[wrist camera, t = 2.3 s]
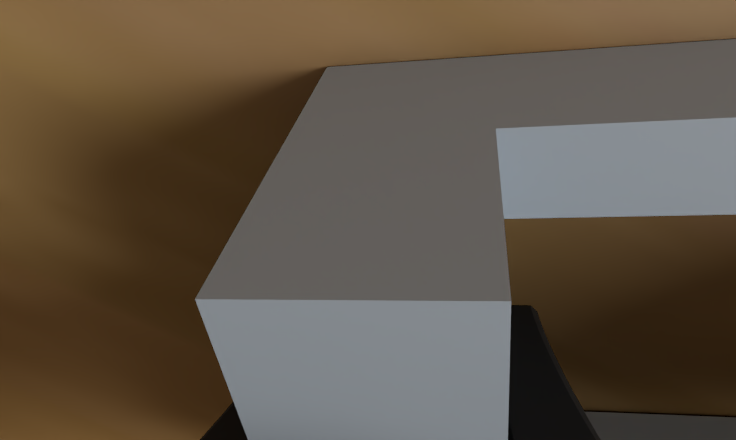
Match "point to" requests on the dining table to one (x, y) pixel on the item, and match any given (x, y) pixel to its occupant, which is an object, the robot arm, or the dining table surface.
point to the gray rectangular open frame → (450, 231)
